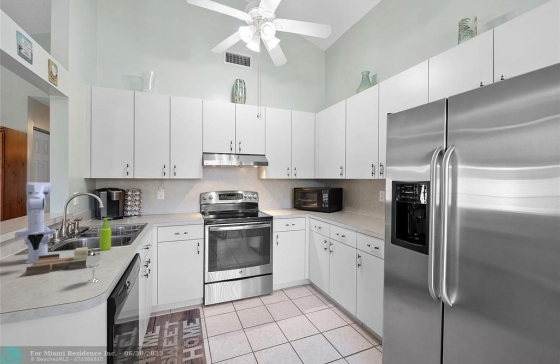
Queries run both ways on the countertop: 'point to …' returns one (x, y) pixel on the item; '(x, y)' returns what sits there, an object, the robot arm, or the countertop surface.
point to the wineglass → (93, 264)
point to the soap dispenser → (105, 236)
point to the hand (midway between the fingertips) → (36, 249)
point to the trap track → (55, 264)
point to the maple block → (80, 253)
